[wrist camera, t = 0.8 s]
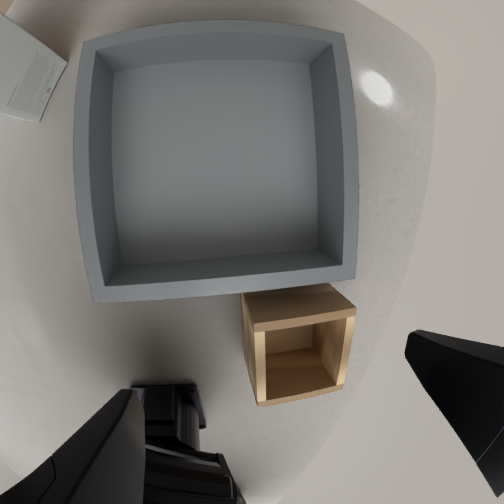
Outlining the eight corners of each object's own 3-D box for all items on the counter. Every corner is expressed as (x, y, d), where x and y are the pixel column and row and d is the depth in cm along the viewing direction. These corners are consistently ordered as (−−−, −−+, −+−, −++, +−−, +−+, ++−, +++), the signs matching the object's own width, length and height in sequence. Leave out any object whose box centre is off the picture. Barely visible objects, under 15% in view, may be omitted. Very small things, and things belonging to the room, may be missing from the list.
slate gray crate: (323, 257, 21) (354, 278, 16) (116, 275, 19) (93, 303, 14) (315, 60, 17) (343, 34, 12) (107, 68, 14) (83, 42, 10)
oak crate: (314, 347, 23) (342, 388, 17) (244, 358, 22) (257, 407, 16) (319, 275, 21) (356, 307, 16) (239, 284, 20) (253, 323, 15)
